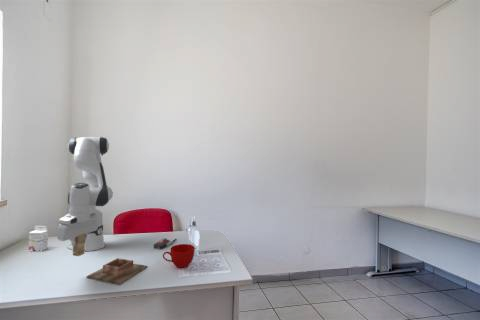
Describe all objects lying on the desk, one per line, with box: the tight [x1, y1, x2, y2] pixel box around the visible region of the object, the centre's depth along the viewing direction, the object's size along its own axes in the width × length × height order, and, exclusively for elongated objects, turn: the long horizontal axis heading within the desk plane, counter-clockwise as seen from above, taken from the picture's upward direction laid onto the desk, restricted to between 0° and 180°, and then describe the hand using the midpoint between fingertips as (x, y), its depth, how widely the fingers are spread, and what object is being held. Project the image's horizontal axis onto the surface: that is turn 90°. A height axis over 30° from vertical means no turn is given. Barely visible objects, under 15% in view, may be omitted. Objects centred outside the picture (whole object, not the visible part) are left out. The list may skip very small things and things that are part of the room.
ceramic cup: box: [162, 243, 196, 269], centre depth 143 cm, size 13×17×10 cm
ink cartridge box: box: [28, 225, 49, 251], centre depth 163 cm, size 9×5×15 cm, turn 92°
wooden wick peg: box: [72, 233, 86, 257], centre depth 129 cm, size 4×4×12 cm
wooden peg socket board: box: [86, 257, 148, 286], centre depth 135 cm, size 20×20×5 cm
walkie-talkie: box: [153, 237, 177, 250], centre depth 178 cm, size 9×4×20 cm
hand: (78, 244), depth 129 cm, fingers closed on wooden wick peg, 3 cm apart
